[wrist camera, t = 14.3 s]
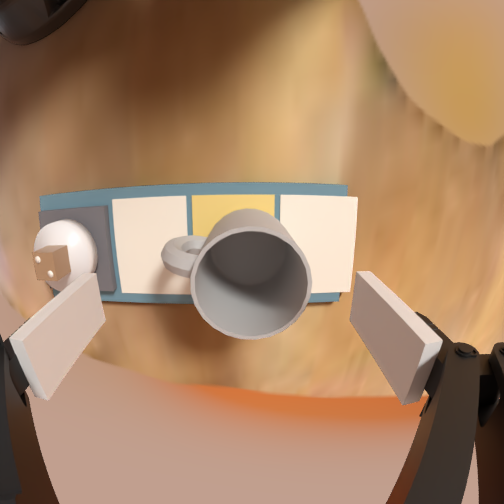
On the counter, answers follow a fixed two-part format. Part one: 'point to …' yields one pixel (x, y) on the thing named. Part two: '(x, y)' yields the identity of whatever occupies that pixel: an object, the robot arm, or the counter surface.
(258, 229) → the cup
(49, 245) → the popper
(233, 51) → the counter surface
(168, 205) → the game board
